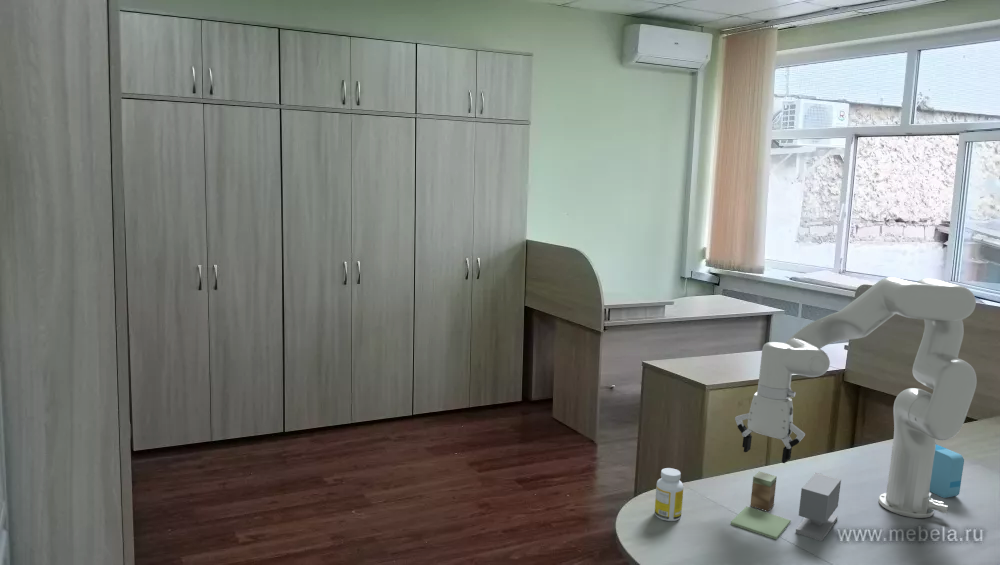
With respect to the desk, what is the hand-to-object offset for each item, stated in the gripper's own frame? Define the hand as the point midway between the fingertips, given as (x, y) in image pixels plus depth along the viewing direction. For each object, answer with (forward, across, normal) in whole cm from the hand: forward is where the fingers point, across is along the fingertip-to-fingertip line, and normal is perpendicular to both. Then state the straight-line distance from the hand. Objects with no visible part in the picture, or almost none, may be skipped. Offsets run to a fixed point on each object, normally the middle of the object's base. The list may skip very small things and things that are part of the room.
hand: (765, 456), depth 187 cm
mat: (+14, -4, +10) cm, 17 cm away
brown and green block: (+14, 0, 0) cm, 14 cm away
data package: (+13, -34, -43) cm, 56 cm away
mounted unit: (+13, -14, +2) cm, 20 cm away
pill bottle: (+14, +16, +22) cm, 30 cm away
